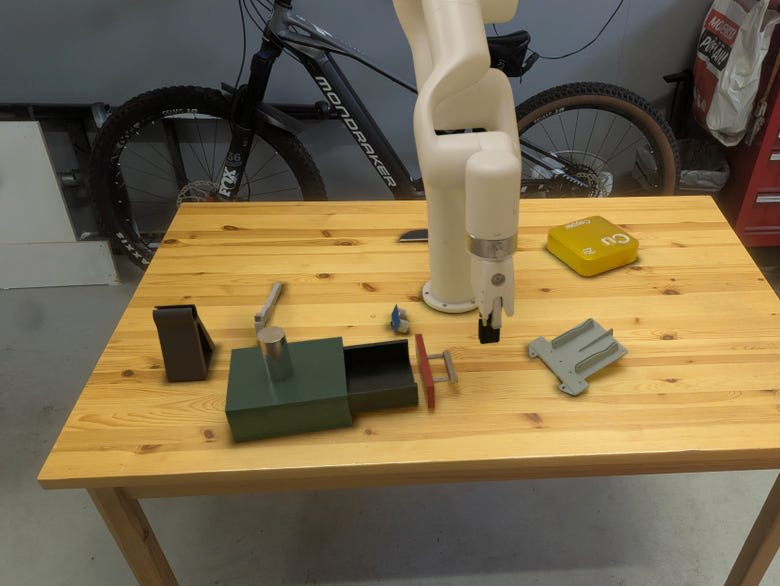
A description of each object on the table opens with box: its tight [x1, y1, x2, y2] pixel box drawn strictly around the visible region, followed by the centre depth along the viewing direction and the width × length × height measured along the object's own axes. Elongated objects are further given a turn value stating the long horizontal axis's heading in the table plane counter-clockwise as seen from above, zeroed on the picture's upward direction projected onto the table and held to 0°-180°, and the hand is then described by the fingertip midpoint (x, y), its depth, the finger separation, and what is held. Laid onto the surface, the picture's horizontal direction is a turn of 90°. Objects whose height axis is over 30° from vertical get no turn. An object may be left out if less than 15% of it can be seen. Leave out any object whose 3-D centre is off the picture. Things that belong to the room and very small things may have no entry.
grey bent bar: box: [253, 282, 283, 344], centre depth 123 cm, size 20×1×6 cm, turn 5°
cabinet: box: [224, 335, 353, 443], centre depth 105 cm, size 18×15×7 cm
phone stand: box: [151, 303, 216, 383], centre depth 110 cm, size 9×6×12 cm, turn 6°
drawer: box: [343, 333, 459, 416], centre depth 108 cm, size 21×13×5 cm, turn 102°
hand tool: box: [398, 228, 428, 242], centre depth 148 cm, size 6×3×25 cm
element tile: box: [546, 215, 640, 277], centre depth 142 cm, size 15×15×5 cm
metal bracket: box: [528, 317, 629, 396], centre depth 115 cm, size 14×6×15 cm
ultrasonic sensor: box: [389, 303, 410, 334], centre depth 122 cm, size 6×2×3 cm, turn 12°
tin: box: [256, 325, 293, 381], centre depth 100 cm, size 4×4×8 cm
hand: (488, 340), depth 107 cm, fingers closed
